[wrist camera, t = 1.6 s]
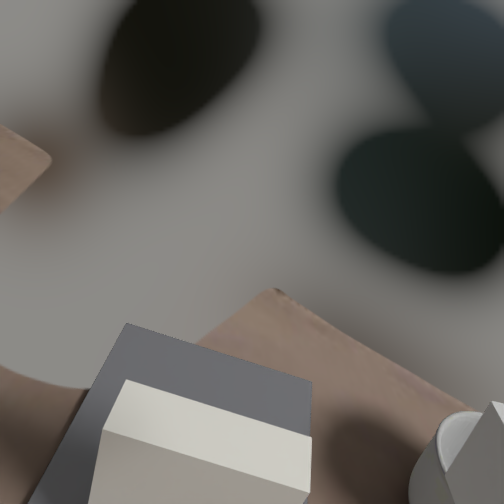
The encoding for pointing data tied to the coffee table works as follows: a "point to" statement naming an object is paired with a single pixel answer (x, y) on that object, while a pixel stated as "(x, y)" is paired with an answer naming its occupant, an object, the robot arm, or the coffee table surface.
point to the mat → (175, 382)
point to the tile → (195, 454)
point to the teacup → (440, 459)
